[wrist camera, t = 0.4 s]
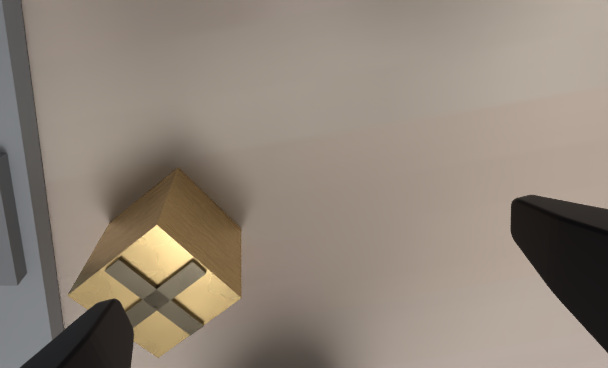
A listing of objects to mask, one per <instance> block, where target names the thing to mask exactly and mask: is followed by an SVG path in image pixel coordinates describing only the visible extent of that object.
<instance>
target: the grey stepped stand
mask: <svg viewBox="0 0 608 368" xmlns="http://www.w3.org/2000/svg"><path fill="white" fill-rule="evenodd" d="M62 331H64V327H63V320H62V312H61V304H60V297H59V289H58V282H57V274H56V266H55V259H54V251H53V243H52V236H51V228H50V221H49V213H48V205H47V198H46V190H45V183H44V175H43V167H42V160H41V152H40V144H39V137H38V129H37V122H36V114H35V106H34V99H33V91H32V83H31V76H30V68H29V61H28V53H27V45H26V38H25V30H24V22H23V15H22V7H21V0H0V368H20V367H21V366H22V365H23V364H24V363H26V362H27V361H28V360H29V359H30V358H32V357H33V356H34V355H35V354H36V353H37V352H39V351H40V350H41V349H42V348H43V347H45V346H46V345H47V344H48V343H49V342H51V341H52V340H53V339H54V338H55V337H57V336H58V335H59V334H60V333H61V332H62Z"/></svg>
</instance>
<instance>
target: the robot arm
mask: <svg viewBox="0 0 608 368" xmlns="http://www.w3.org/2000/svg"><path fill="white" fill-rule="evenodd" d="M511 234H512V237H513V239H514V241H515V242H516V244H517V245H518V246H519V248H520V249H521V250H522V252H523V253H524V255H525V256H526V257H527V259H528V260H529V261H530V263H531V264H532V265H533V267H534V268H535V269H536V271H537V272H538V273H539V275H540V276H541V278H542V279H543V280H544V282H545V283H546V284H547V286H548V287H549V288H550V289H551V291H552V292H553V293H554V294H555V295H556V297H557V298H558V299H559V300H560V301H561V302H562V303H563V304H564V306H565V307H566V308H567V309H568V310H569V311H570V312H571V313H572V314H573V315H574V316H575V318H576V319H577V320H578V321H579V322H580V323H581V324H582V325H583V326H584V327H585V329H586V330H587V331H588V332H589V333H590V334H591V335H592V336H593V337H594V338H595V339H596V341H597V342H598V343H599V344H600V345H601V346H602V347H603V348H604V349H605V350H606V352H607V353H608V209H603V208H598V207H593V206H588V205H583V204H578V203H572V202H567V201H562V200H557V199H552V198H546V197H541V196H536V195H527V196H523V197H519V198H516V199H514V200H513V201H512V204H511ZM133 342H134V330H133V326H132V324H131V322H130V320H129V318H128V316H127V314H126V312H125V310H124V308H123V306H122V304H121V302H120V301H119V300H118V299H115V298H113V299H109V300H105V301H101V302H98V303H96V304H95V305H93V306H92V307H91V308H90V309H89V310H87V311H86V312H85V313H84V314H83V315H81V316H80V317H79V318H78V319H77V320H76V321H74V322H73V323H72V324H71V325H70V326H68V327H67V328H66V329H65V330H64V331H62V332H61V333H60V334H59V335H58V336H57V337H55V338H54V339H53V340H52V341H51V342H49V343H48V344H47V345H46V346H45V347H43V348H42V349H41V350H40V351H39V352H37V353H36V354H35V355H34V356H33V357H32V358H30V359H29V360H28V361H27V362H26V363H24V364H23V365H22V366H21V367H20V368H131V360H132V351H133Z"/></svg>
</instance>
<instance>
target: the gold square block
mask: <svg viewBox="0 0 608 368" xmlns="http://www.w3.org/2000/svg"><path fill="white" fill-rule="evenodd" d="M67 296H69V297H70V298H72V299H73V300H74V301H76V302H77V303H79V304H80V305H82V306H83V307H85V308H86V309H88V310H89V309H90V308H91V307H92V306H93V305H95V304H96V303H98V302H101V301H105V300H109V299H113V298H115V299H118V300H119V301H120V302H121V304H122V306H123V308H124V310H125V312H126V314H127V316H128V318H129V320H130V322H131V324H132V326H133V330H134V342H136V343H137V344H139V345H140V346H141V347H143V348H144V349H146V350H147V351H149V352H150V353H152V354H153V355H155V356H156V357H157V358H159V357H160V356H162V355H163V354H165V353H166V352H167V351H169V350H170V349H171V348H173V347H174V346H176V345H177V344H178V343H180V342H181V341H183V340H184V339H185V338H187V337H188V336H189V335H192V334H193V333H194V332H196V331H197V330H199V329H200V328H201V327H203V326H204V325H205V324H206V323H207V322H209V321H210V320H212V319H213V318H214V317H216V316H217V315H219V314H220V313H221V312H223V311H224V310H225V309H227V308H228V307H230V306H231V305H232V304H234V303H235V302H237V301H238V300H239V299H241V228H240V227H239V226H238V225H237V224H236V223H235V222H234V221H233V220H232V219H231V218H230V217H228V216H227V215H226V214H225V213H224V212H223V211H222V210H221V209H220V208H219V207H218V206H217V205H216V204H215V203H214V202H213V201H212V200H211V199H210V198H209V197H208V196H207V195H206V194H205V193H204V192H203V191H202V190H201V189H200V188H199V187H198V186H197V185H196V184H195V183H194V182H193V181H191V180H190V179H189V178H188V177H187V176H186V175H185V174H184V173H183V172H182V171H181V170H180V169H179V168H177V169H176V170H174V171H173V172H172V173H171V174H169V175H168V176H167V177H166V178H165V179H163V180H162V181H161V182H160V183H158V184H157V185H156V186H155V187H153V188H152V189H151V190H150V191H148V192H147V193H146V194H145V195H144V196H142V197H141V198H140V199H139V200H137V201H136V202H135V203H134V204H132V205H131V206H130V207H129V208H128V209H126V210H125V211H124V212H123V213H121V214H120V215H119V216H118V217H116V218H115V219H114V220H113V221H111V222H110V223H109V225H108V227H107V228H106V230H105V232H104V234H103V235H102V237H101V239H100V240H99V242H98V244H97V246H96V247H95V249H94V251H93V252H92V254H91V256H90V258H89V259H88V261H87V263H86V264H85V266H84V268H83V270H82V271H81V273H80V275H79V276H78V278H77V280H76V282H75V283H74V285H73V287H72V288H71V290H70V292H69V294H68V295H67Z"/></svg>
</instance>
